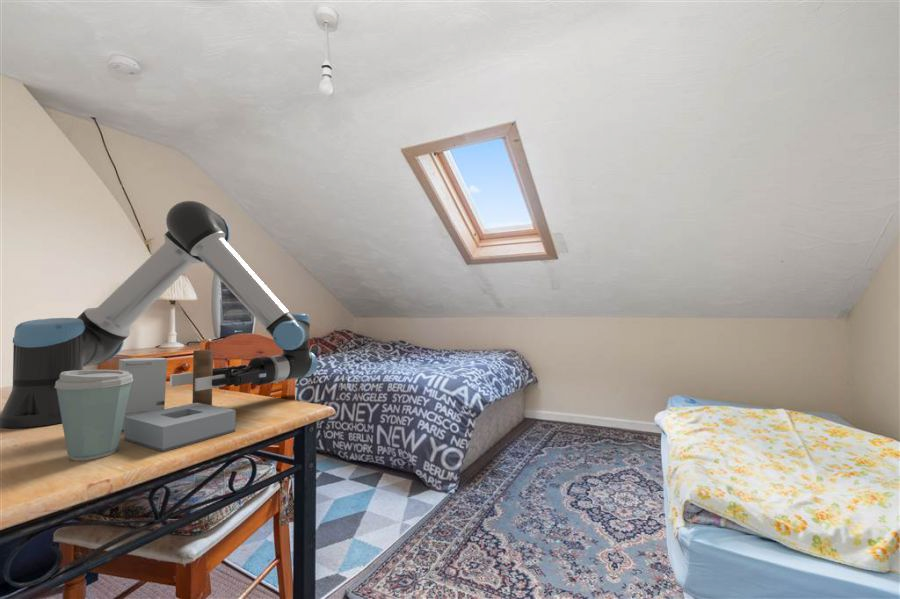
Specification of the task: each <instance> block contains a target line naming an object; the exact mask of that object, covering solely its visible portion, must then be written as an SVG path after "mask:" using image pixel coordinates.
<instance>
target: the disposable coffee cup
mask: <svg viewBox="0 0 900 599" xmlns="http://www.w3.org/2000/svg"><path fill="white" fill-rule="evenodd" d="M132 381H133V376H132V374H129V372H127V371H122V370H119V369H83V370H74V371H65V372H62V373H61V374H60V379H58V380H57V381H56V383H55V388H56V389H57V395H58V401H59V406H60V412H61V418H62V423H61V424H62V429H63V430H62V431H63V434H64V440H65V441H64V442H65V447H66V453H67V455H68V456H69V459H70V460H72V461H75V462H77V461H78V462H79V461H81V462H85V461H92V460H97V459H101V458H105V457H109V456H111V455H112V454H114V453H116V452H117V449H118V447H119V445H120V444H119V443H120V441H121V440H120V439H121V434H122V431H123V430H122V425H123V420H124V415H125V411H126V406H127V401H128V396H129V391H130V386H131V382H132ZM121 430H122V431H121Z"/></svg>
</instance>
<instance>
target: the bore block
mask: <svg viewBox="0 0 900 599" xmlns="http://www.w3.org/2000/svg"><path fill="white" fill-rule="evenodd" d="M123 431H124V432H123V433H124V434H123V441H127V442H129V441H130V443H132V442H133V444H135V445H139V446H143V447H146V448H149V449H153V450H156V451H158V452H163V453H164V452H167V451H171V450H174V449H177V448H181V447H185V446H189V445H193V444H197V443H199V442H203V441H205V440H209V439H214V438H217V437H221V436H223V435H227V434H231V433H234V432H236V409H232V408H227V407H221V406H217V405H213V404H212V405H207V404H202V403H193V404H192V403H189V404H184V405H179V406H174V407H169V408H164V409H162V410H157V411H152V412H147V413H142V414H137V415H132V416H127V417H125V423H124V430H123Z"/></svg>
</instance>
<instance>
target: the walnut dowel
mask: <svg viewBox="0 0 900 599" xmlns="http://www.w3.org/2000/svg"><path fill="white" fill-rule="evenodd" d="M192 354H193V355H192V359H193V361H192V362H193V363H192V372H193V383H192V403H191V404H193V403H202V404H207V405H212V406H213V388H211V389H206V390H200V391H195V379H196V378H203V377H209V376H213V369H214V368H213V367H214V362H213V360H214V349H197V350H193V353H192Z"/></svg>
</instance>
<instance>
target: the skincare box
mask: <svg viewBox="0 0 900 599" xmlns="http://www.w3.org/2000/svg"><path fill="white" fill-rule="evenodd" d="M167 365H168V359H167V358H165V357H138V358H123V359H122V358H120V359H118V370H122V371H127V372H129V374H132V376H133V381H132V382H131V386H130V391H129V396H128V401H127V406H126V411H125V415H124V420H123V425H122V430H121V432H122V431H124V423H125V417H127V416H132V415H137V414H142V413H147V412H152V411H157V410H162V409H166V408H165V406H166V403H165V402H166V386H167Z"/></svg>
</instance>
